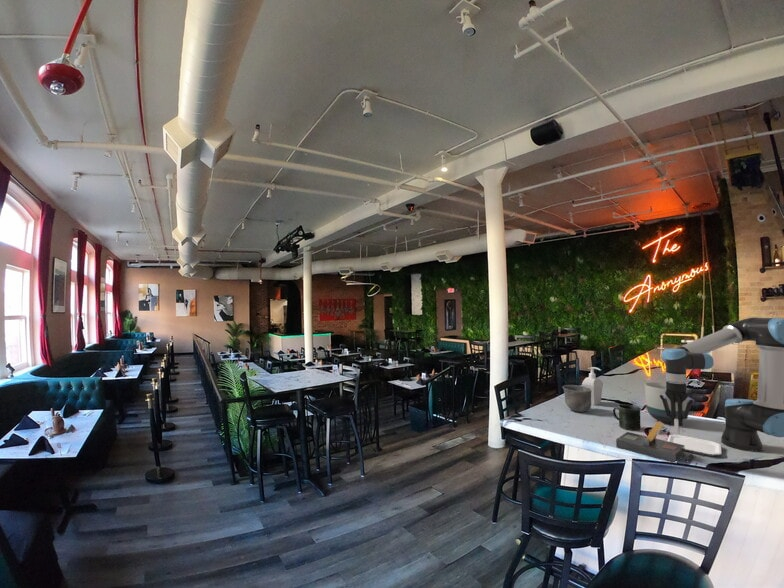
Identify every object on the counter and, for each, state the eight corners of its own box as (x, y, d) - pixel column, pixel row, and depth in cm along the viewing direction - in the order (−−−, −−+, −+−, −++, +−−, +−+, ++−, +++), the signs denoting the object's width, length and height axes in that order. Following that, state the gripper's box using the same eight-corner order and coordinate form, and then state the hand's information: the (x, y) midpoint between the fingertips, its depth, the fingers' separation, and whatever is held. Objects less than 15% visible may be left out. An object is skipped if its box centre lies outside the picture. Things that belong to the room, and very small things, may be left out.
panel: (684, 453, 175) (684, 439, 175) (675, 463, 165) (675, 448, 165) (627, 439, 193) (627, 426, 194) (616, 447, 183) (616, 433, 183)
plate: (721, 447, 184) (721, 442, 184) (721, 460, 168) (721, 455, 168) (669, 437, 197) (669, 433, 197) (665, 448, 182) (665, 444, 182)
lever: (653, 440, 181) (664, 423, 178) (648, 445, 176) (659, 427, 173) (649, 437, 183) (659, 420, 180) (643, 441, 177) (654, 424, 174)
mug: (635, 432, 203) (635, 411, 203) (608, 425, 215) (608, 404, 216) (645, 429, 209) (644, 407, 209) (618, 422, 221) (617, 402, 222)
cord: (693, 456, 172) (693, 454, 172) (688, 462, 166) (688, 459, 166) (690, 455, 173) (690, 453, 173) (685, 461, 166) (685, 459, 166)
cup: (557, 410, 246) (557, 387, 246) (568, 405, 258) (568, 383, 258) (586, 416, 233) (585, 392, 233) (596, 410, 245) (595, 388, 245)
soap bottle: (596, 407, 253) (596, 369, 254) (582, 403, 261) (581, 367, 262) (605, 404, 260) (605, 367, 260) (591, 401, 268) (590, 365, 269)
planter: (641, 415, 235) (640, 381, 235) (679, 418, 228) (678, 383, 228) (651, 425, 216) (651, 388, 216) (694, 429, 209) (693, 391, 209)
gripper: (695, 383, 169) (696, 434, 168) (661, 378, 179) (662, 427, 178) (692, 385, 164) (693, 438, 164) (657, 380, 174) (658, 431, 173)
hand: (677, 432), depth 171 cm, fingers closed
